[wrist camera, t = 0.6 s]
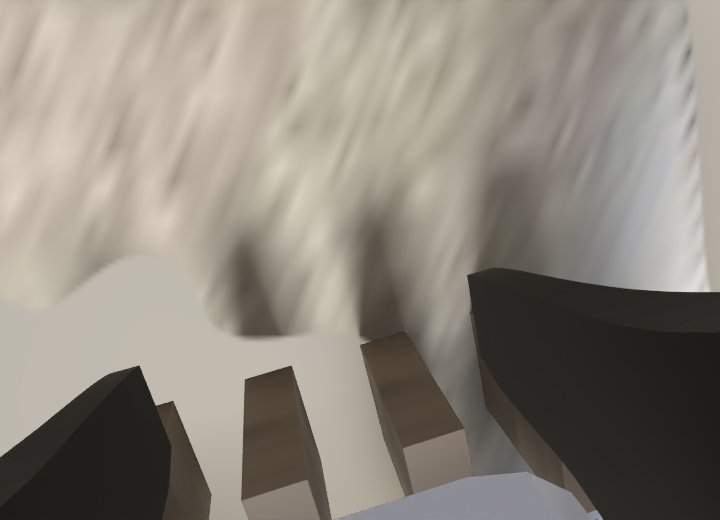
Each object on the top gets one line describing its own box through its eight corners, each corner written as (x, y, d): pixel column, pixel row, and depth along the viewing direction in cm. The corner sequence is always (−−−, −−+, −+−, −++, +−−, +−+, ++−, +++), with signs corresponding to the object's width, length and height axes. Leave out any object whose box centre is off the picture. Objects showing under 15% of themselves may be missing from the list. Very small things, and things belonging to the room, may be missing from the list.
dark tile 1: (525, 394, 25) (621, 501, 19) (486, 406, 25) (568, 519, 18) (512, 299, 24) (612, 381, 17) (470, 312, 23) (554, 399, 17)
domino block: (211, 494, 24) (195, 649, 17) (166, 508, 23) (132, 671, 17) (173, 400, 22) (139, 533, 15) (124, 415, 22) (69, 556, 15)
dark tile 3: (320, 459, 24) (345, 597, 18) (277, 473, 24) (286, 618, 17) (291, 365, 23) (307, 479, 16) (245, 379, 22) (241, 500, 16)
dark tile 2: (425, 426, 25) (487, 548, 18) (384, 439, 25) (431, 567, 18) (404, 331, 23) (464, 428, 16) (360, 345, 23) (402, 448, 16)
